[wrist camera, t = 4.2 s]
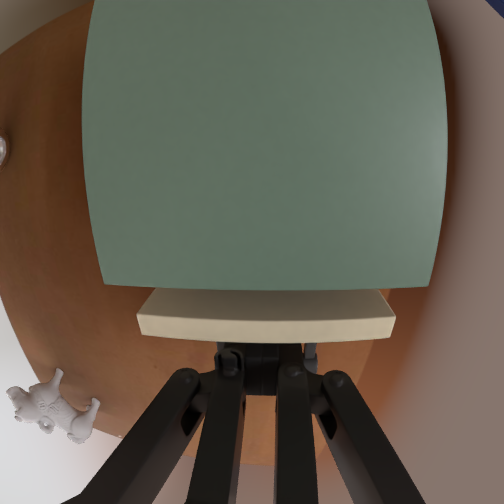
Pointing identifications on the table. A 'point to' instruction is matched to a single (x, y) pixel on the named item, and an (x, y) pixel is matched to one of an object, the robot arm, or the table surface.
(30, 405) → the dog figurine
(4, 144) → the metal grooved wheel
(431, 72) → the cabinet
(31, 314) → the table surface
